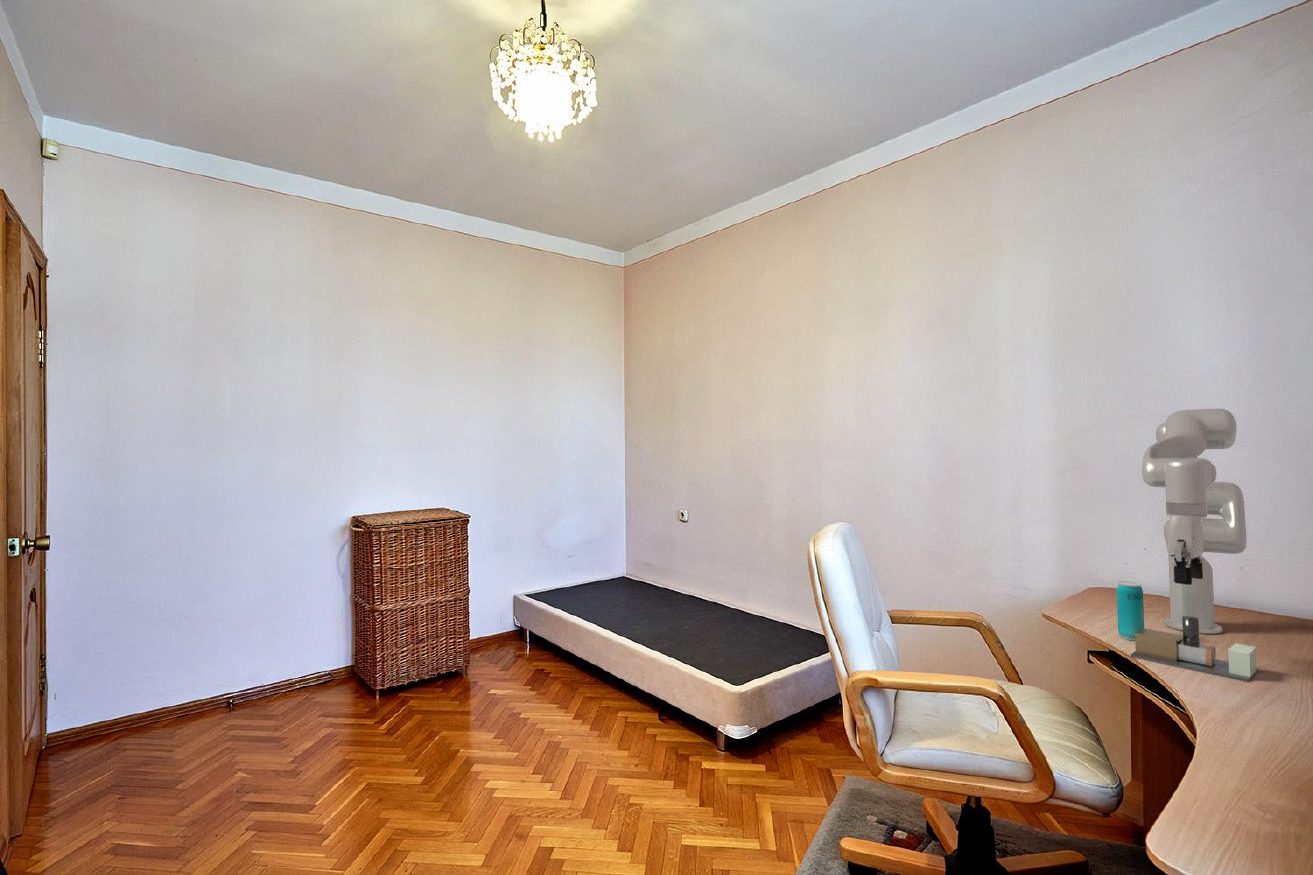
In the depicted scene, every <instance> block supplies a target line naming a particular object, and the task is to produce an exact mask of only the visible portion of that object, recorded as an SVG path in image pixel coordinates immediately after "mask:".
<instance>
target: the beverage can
mask: <svg viewBox="0 0 1313 875" xmlns="http://www.w3.org/2000/svg"><path fill="white" fill-rule="evenodd" d="M1144 610H1145V609H1144V590H1143V588H1142V584H1141V583H1138V582H1135V581H1134V582H1133V581H1117V586H1116V612H1117V615H1116V616H1117V631H1118V634H1119V636H1120V637H1121V639H1123V640H1127V641H1133V642H1134V641H1135V633H1136V632H1138V631H1139V630H1141V629H1143V628H1145V614H1144ZM1135 642H1136V641H1135Z"/></svg>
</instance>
